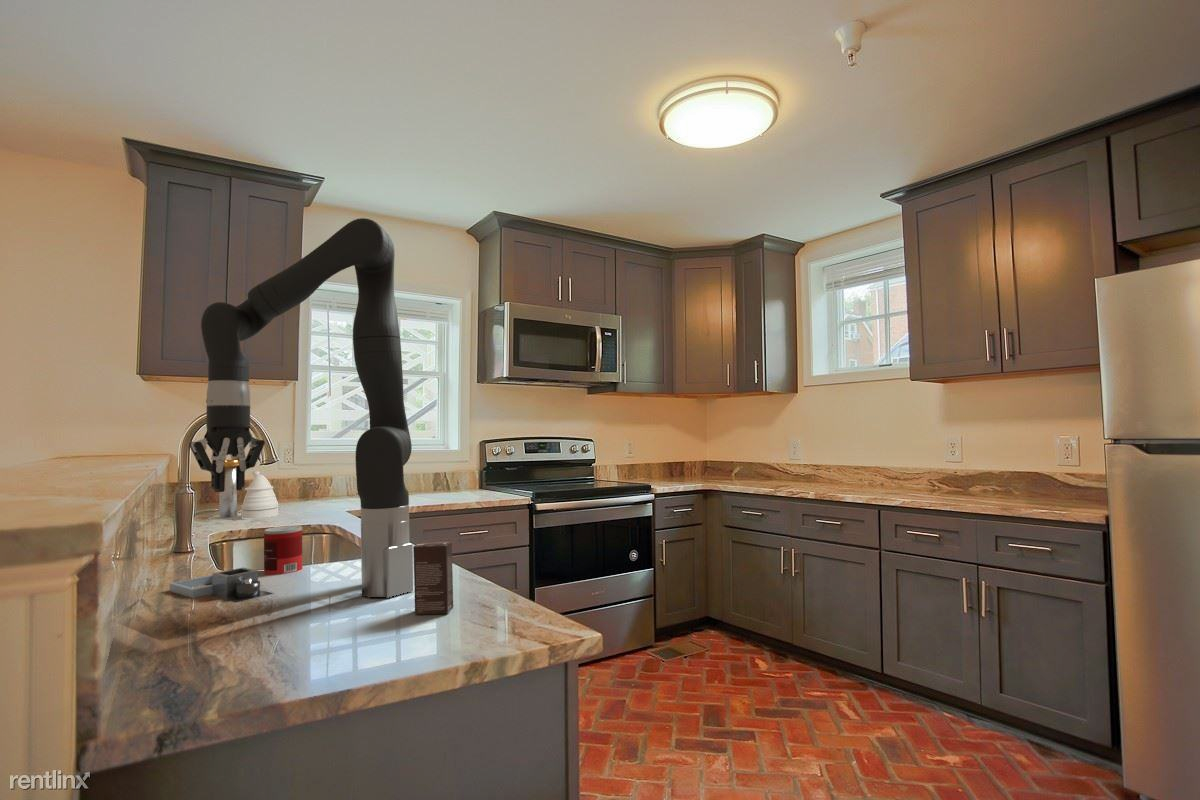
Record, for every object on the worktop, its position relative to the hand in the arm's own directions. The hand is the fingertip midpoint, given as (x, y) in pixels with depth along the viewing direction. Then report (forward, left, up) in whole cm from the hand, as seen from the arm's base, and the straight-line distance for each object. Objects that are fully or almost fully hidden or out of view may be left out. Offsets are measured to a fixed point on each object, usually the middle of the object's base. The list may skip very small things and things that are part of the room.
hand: (228, 490), depth 124 cm
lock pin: (0, 0, -5) cm, 5 cm away
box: (-43, -15, -22) cm, 50 cm away
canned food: (+9, -16, -22) cm, 28 cm away
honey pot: (+120, -67, -22) cm, 139 cm away
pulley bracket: (-4, -1, -21) cm, 22 cm away
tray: (+7, +1, -21) cm, 23 cm away
